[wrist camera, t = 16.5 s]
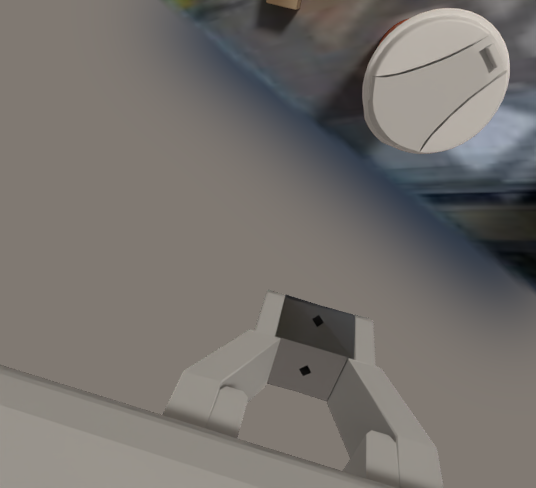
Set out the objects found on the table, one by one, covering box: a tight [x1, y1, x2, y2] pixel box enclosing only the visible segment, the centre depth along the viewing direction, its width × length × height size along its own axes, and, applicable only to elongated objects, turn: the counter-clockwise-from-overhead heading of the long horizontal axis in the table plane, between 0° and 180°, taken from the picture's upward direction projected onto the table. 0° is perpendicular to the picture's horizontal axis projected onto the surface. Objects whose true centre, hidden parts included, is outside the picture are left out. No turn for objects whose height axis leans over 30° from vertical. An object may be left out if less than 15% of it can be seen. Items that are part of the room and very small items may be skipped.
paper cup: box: [362, 8, 510, 154], centre depth 27 cm, size 8×8×14 cm
